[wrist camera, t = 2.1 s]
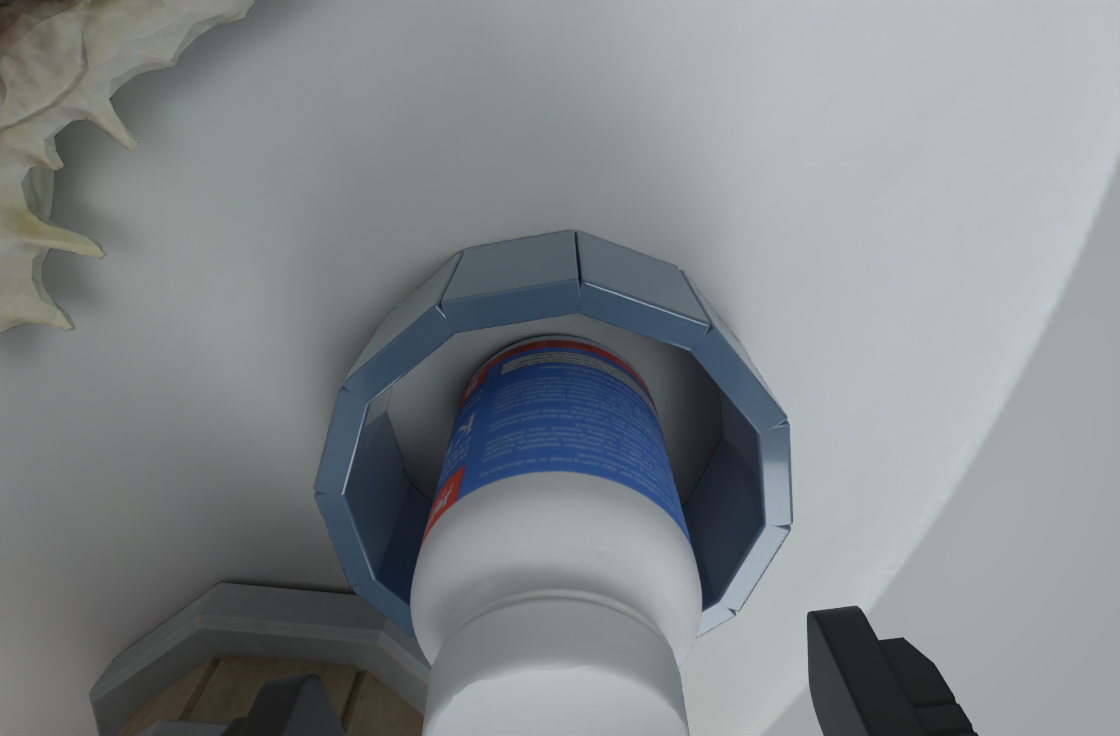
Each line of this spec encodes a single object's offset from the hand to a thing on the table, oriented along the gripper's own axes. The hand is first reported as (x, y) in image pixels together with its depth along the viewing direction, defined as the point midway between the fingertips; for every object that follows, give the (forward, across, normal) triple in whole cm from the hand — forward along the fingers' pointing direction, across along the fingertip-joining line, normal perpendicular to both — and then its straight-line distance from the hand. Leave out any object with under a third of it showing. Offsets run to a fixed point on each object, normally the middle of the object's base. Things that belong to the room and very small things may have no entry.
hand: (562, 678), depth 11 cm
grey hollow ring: (+8, 0, 0) cm, 8 cm away
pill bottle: (+9, 0, 0) cm, 9 cm away
